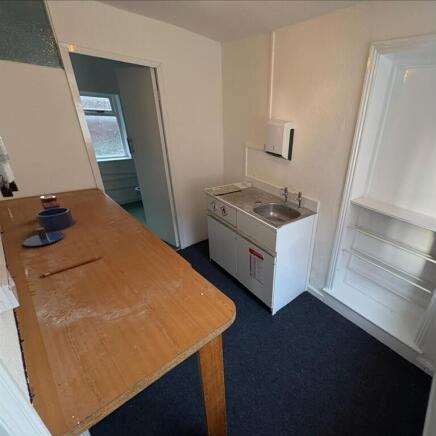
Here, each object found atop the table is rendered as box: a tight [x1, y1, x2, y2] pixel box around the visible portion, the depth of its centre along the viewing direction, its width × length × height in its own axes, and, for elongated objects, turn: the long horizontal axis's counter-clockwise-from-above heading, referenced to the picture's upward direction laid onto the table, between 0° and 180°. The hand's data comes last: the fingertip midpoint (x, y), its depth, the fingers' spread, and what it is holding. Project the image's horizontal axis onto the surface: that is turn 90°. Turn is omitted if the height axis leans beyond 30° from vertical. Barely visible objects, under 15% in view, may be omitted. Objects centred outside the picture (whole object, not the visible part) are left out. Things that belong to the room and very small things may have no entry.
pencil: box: [42, 257, 99, 278], centre depth 100 cm, size 1×19×1 cm, turn 140°
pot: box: [35, 207, 75, 232], centre depth 132 cm, size 14×14×8 cm
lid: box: [22, 227, 65, 248], centre depth 117 cm, size 15×15×7 cm
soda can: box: [39, 194, 61, 211], centre depth 145 cm, size 7×7×12 cm
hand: (11, 194), depth 112 cm, fingers open, 9 cm apart
